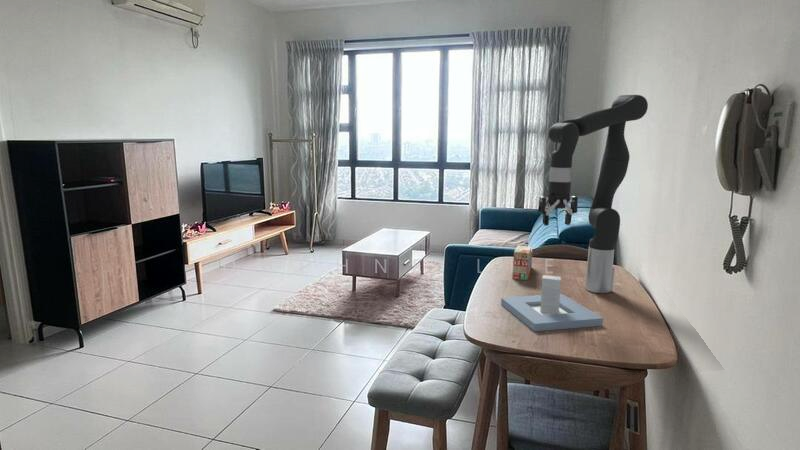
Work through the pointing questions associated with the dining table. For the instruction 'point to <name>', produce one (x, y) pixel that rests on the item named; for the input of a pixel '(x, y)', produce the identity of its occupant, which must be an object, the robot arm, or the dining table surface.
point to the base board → (540, 321)
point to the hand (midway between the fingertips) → (556, 224)
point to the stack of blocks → (522, 262)
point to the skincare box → (550, 294)
